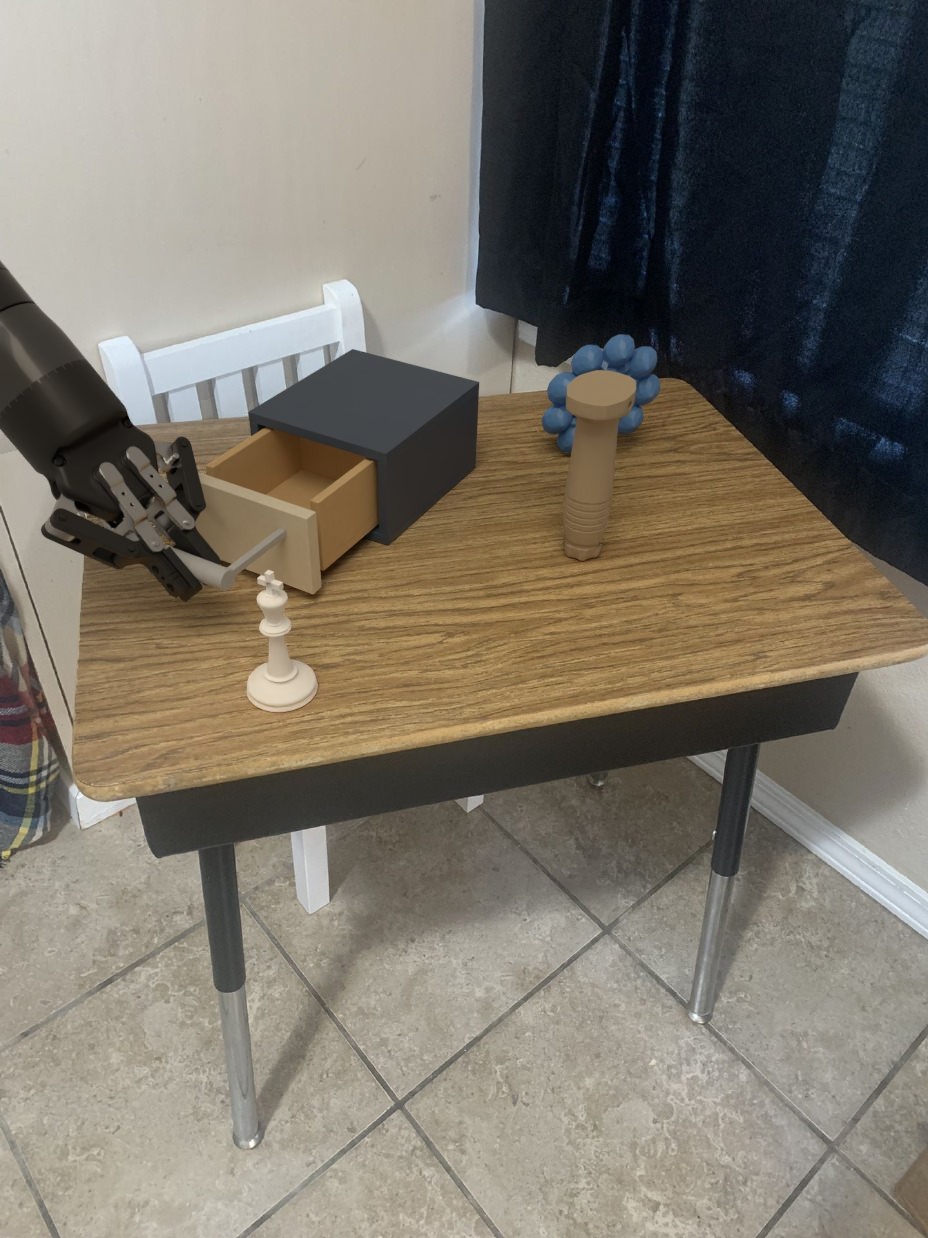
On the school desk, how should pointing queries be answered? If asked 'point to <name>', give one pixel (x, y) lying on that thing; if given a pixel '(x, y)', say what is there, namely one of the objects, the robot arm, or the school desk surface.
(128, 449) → the robot arm
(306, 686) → the chess piece
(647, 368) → the grapes
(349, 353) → the cabinet
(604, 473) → the handle
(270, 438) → the drawer
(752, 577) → the school desk surface
